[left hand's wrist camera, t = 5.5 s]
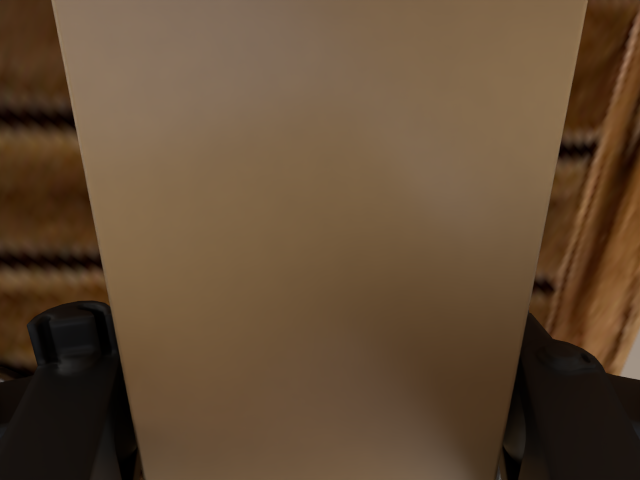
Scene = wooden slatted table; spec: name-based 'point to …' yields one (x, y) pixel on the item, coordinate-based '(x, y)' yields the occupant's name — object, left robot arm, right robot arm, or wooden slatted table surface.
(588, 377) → the left robot arm
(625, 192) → the wooden slatted table surface
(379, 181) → the bar
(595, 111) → the wooden slatted table surface
